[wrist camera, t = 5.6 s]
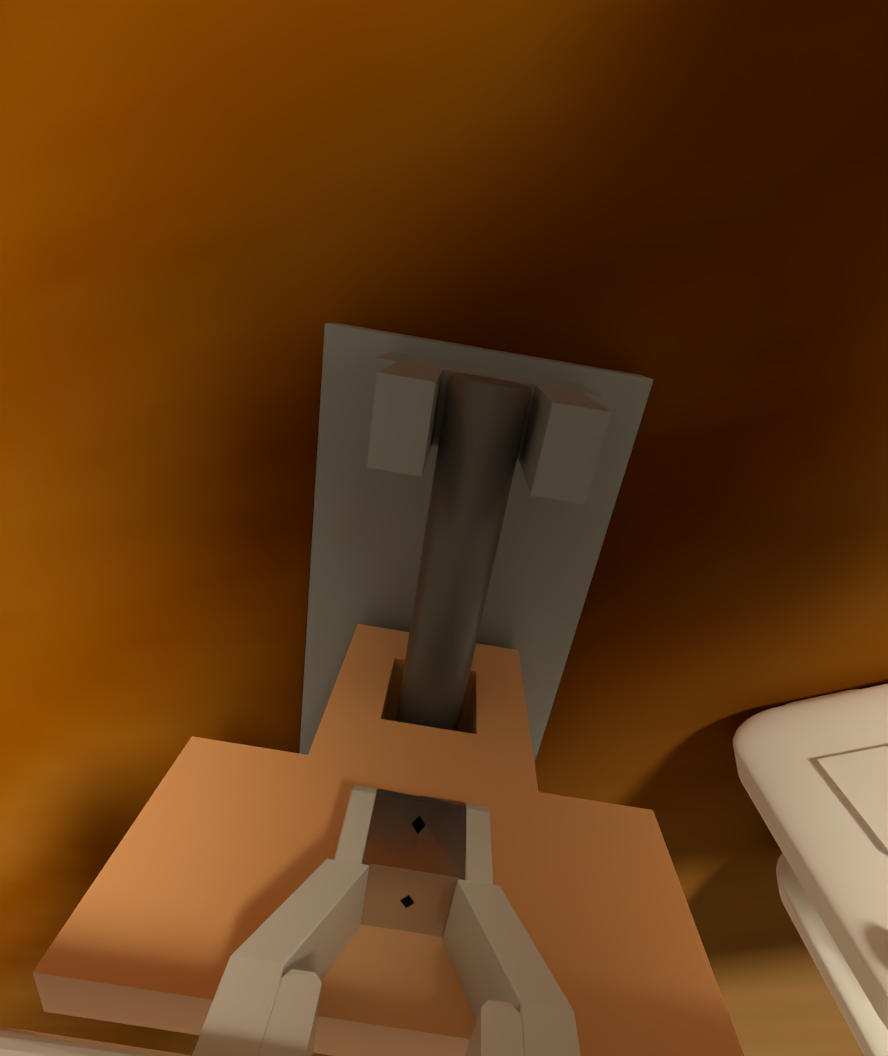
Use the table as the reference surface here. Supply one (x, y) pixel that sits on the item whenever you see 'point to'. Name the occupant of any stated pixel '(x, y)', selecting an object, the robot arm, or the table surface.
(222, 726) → the table surface
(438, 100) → the table surface
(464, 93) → the table surface
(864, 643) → the table surface
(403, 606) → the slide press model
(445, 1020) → the orange piece
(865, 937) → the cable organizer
